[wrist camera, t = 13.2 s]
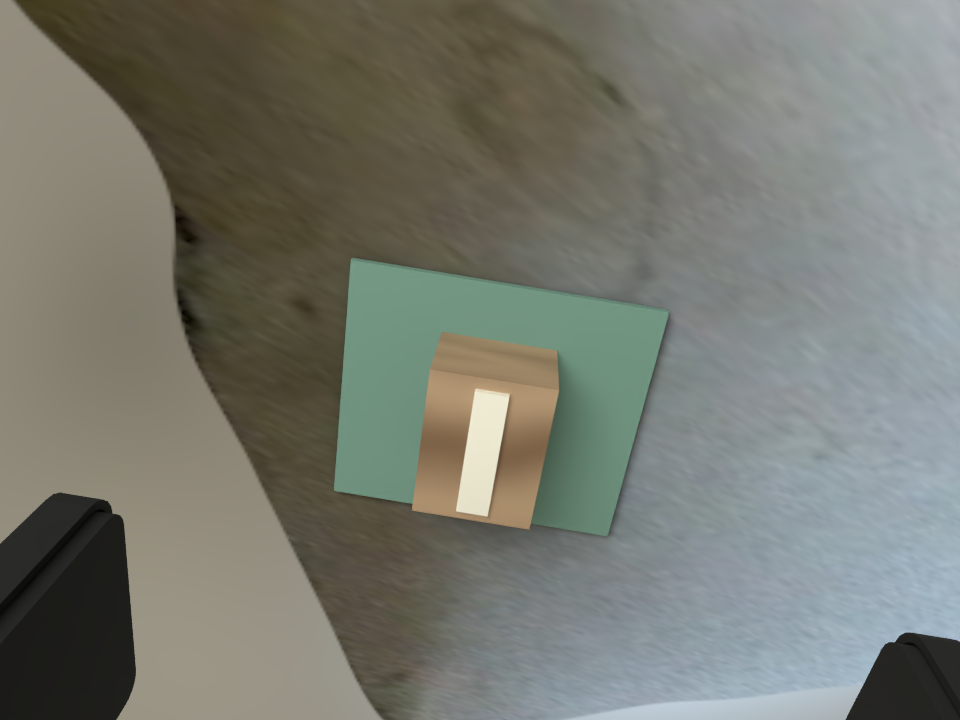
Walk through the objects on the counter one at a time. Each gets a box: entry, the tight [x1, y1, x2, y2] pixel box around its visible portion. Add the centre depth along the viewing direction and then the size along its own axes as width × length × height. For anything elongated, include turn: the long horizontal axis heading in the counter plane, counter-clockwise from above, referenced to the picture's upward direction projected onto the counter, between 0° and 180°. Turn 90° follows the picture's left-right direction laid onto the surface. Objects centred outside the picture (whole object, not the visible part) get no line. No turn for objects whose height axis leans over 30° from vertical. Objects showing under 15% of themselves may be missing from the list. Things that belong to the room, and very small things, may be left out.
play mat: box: [334, 258, 669, 536], centre depth 40 cm, size 16×14×1 cm
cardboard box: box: [412, 332, 559, 529], centre depth 37 cm, size 8×6×5 cm
